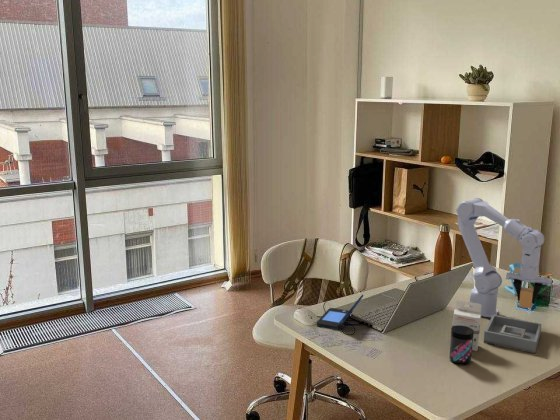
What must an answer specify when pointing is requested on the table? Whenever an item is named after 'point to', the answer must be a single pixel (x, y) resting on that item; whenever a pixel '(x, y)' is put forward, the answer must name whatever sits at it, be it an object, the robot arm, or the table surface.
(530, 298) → the orange brown rectangular block
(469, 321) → the ink box
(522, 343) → the walled box
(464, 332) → the supplement container
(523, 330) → the socket
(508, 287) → the chair
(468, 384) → the table surface
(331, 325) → the black screen device
